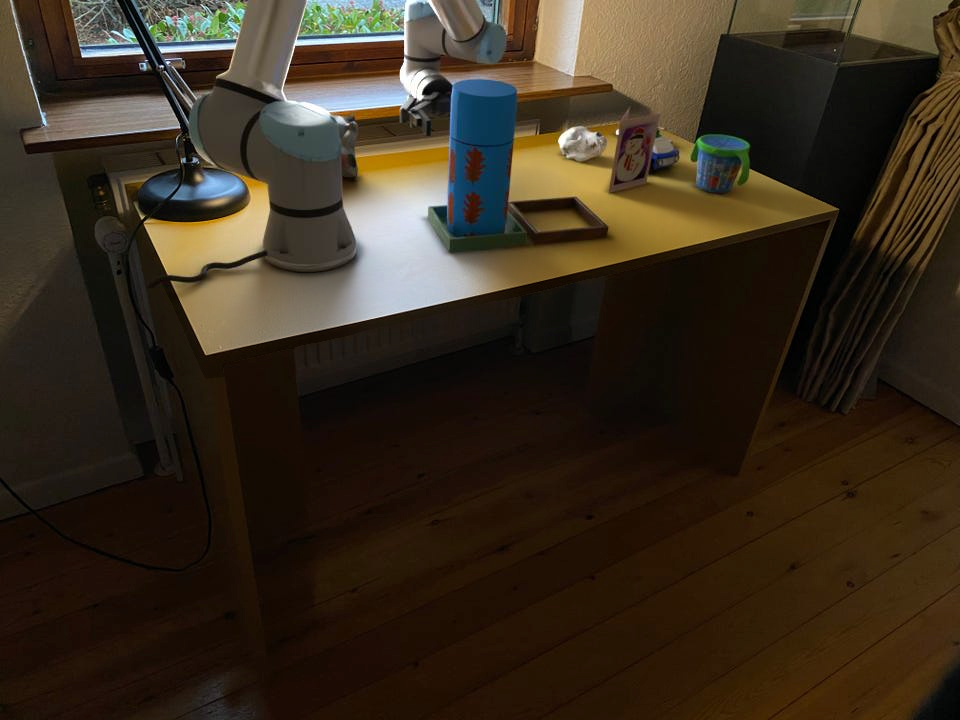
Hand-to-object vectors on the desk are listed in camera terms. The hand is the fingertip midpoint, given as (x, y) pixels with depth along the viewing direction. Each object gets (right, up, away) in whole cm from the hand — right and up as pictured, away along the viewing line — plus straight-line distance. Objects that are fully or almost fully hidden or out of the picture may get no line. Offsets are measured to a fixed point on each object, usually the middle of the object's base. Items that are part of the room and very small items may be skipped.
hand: (465, 126), depth 131 cm
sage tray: (+2, -18, +3) cm, 19 cm away
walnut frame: (+17, -16, +8) cm, 25 cm away
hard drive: (+43, +13, +52) cm, 69 cm away
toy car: (+41, +3, +38) cm, 56 cm away
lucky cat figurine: (-29, -4, +21) cm, 36 cm away
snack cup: (+53, -4, +28) cm, 60 cm away
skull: (+25, +5, +39) cm, 47 cm away
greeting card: (+32, -4, +27) cm, 42 cm away
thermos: (+2, -18, +3) cm, 18 cm away
